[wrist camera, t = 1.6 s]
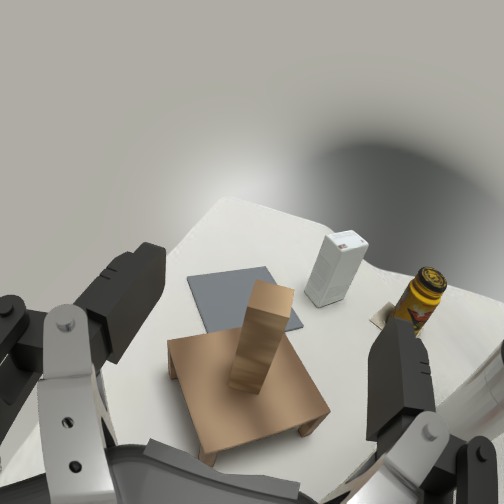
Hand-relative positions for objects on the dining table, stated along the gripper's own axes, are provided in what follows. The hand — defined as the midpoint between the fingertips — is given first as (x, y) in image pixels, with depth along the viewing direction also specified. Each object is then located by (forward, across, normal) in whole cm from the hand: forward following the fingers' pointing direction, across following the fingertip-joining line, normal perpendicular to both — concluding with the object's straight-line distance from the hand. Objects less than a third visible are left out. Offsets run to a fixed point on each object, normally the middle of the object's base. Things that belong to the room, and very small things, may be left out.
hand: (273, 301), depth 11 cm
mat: (+28, +4, +28) cm, 39 cm away
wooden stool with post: (+11, 0, +28) cm, 30 cm away
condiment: (+33, -23, +28) cm, 48 cm away
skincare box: (+35, -9, +28) cm, 45 cm away
